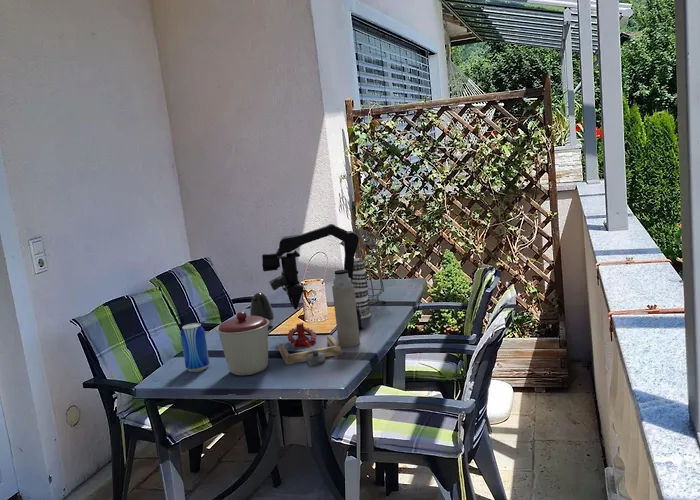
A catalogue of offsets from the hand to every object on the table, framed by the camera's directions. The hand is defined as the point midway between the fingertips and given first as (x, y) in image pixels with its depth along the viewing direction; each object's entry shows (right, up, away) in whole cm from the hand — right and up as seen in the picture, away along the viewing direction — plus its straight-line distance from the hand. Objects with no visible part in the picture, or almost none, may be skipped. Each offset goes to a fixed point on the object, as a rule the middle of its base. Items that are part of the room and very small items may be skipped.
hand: (294, 307), depth 259 cm
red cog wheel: (+4, -14, -9) cm, 17 cm away
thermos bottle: (+22, -13, -15) cm, 29 cm away
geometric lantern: (+30, -2, +43) cm, 52 cm away
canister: (-13, -19, -32) cm, 40 cm away
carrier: (+8, -15, -24) cm, 30 cm away
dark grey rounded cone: (-15, -11, +21) cm, 28 cm away
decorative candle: (+27, -6, +21) cm, 35 cm away
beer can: (-33, -20, -24) cm, 45 cm away
